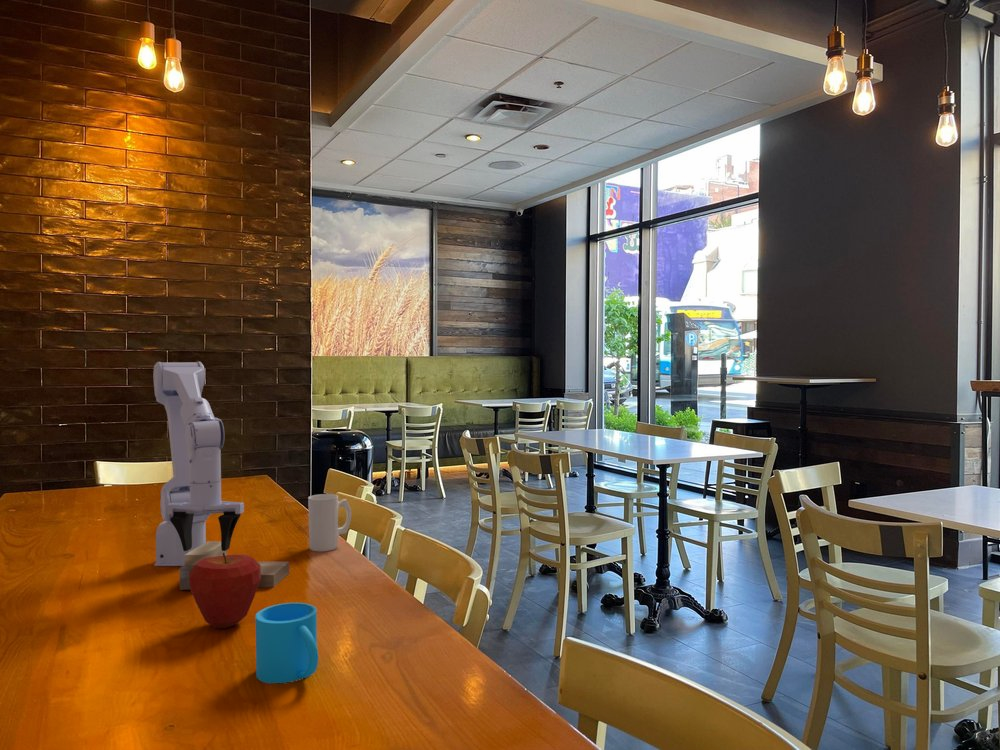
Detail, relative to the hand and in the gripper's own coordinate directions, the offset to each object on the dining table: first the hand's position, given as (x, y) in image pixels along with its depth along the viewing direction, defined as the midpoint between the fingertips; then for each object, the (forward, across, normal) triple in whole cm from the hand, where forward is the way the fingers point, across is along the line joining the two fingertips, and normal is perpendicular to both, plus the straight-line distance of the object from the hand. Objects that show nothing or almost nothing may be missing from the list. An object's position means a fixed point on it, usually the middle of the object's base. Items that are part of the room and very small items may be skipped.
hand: (206, 549), depth 139 cm
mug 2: (+6, +18, +25) cm, 31 cm away
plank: (+6, +6, 0) cm, 8 cm away
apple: (+6, +14, -24) cm, 28 cm away
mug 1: (+7, +31, -42) cm, 52 cm away
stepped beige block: (+6, 0, -1) cm, 6 cm away
